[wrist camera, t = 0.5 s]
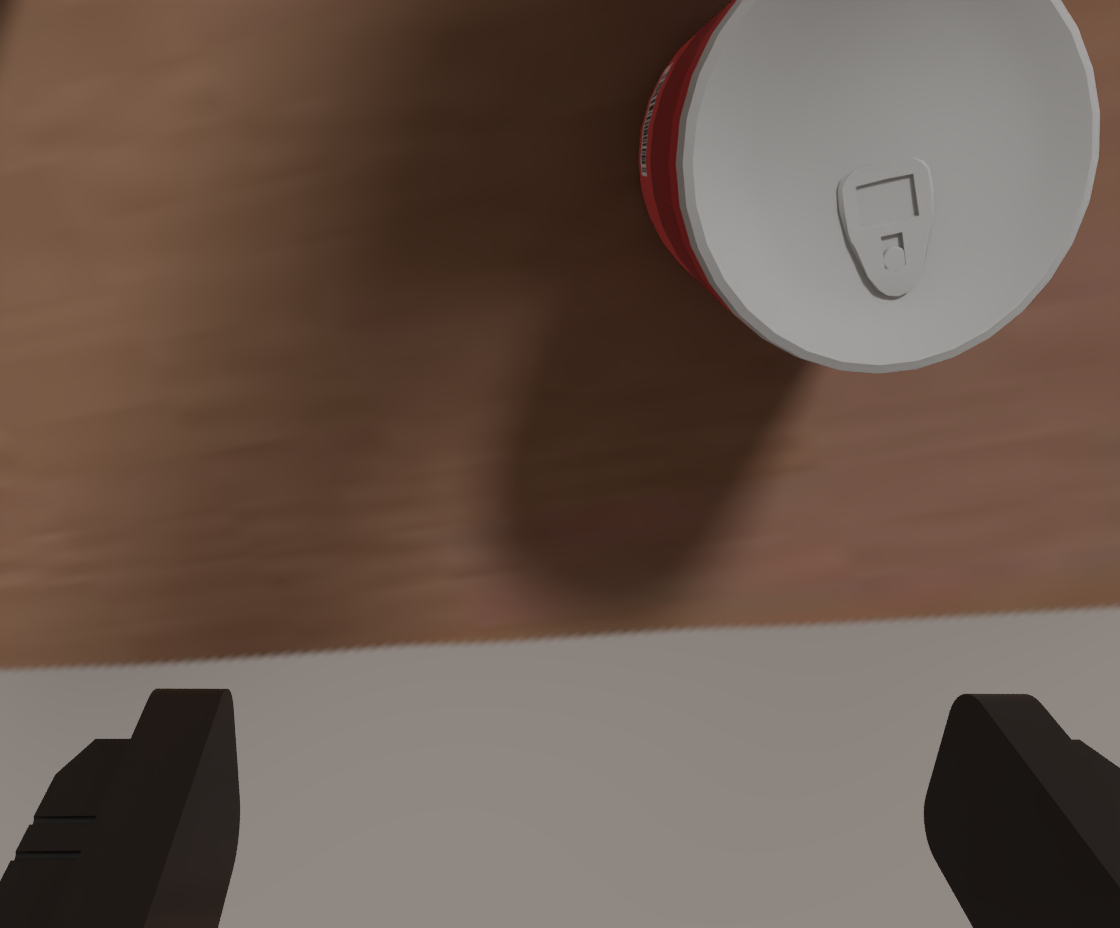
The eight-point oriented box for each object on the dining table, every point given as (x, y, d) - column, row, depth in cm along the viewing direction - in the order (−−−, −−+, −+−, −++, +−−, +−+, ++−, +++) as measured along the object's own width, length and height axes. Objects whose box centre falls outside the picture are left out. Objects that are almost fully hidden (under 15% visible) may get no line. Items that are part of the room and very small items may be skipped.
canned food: (709, 343, 30) (789, 445, 20) (584, 93, 28) (600, 57, 18) (948, 219, 29) (1167, 257, 19) (837, -51, 27) (1014, -178, 17)
